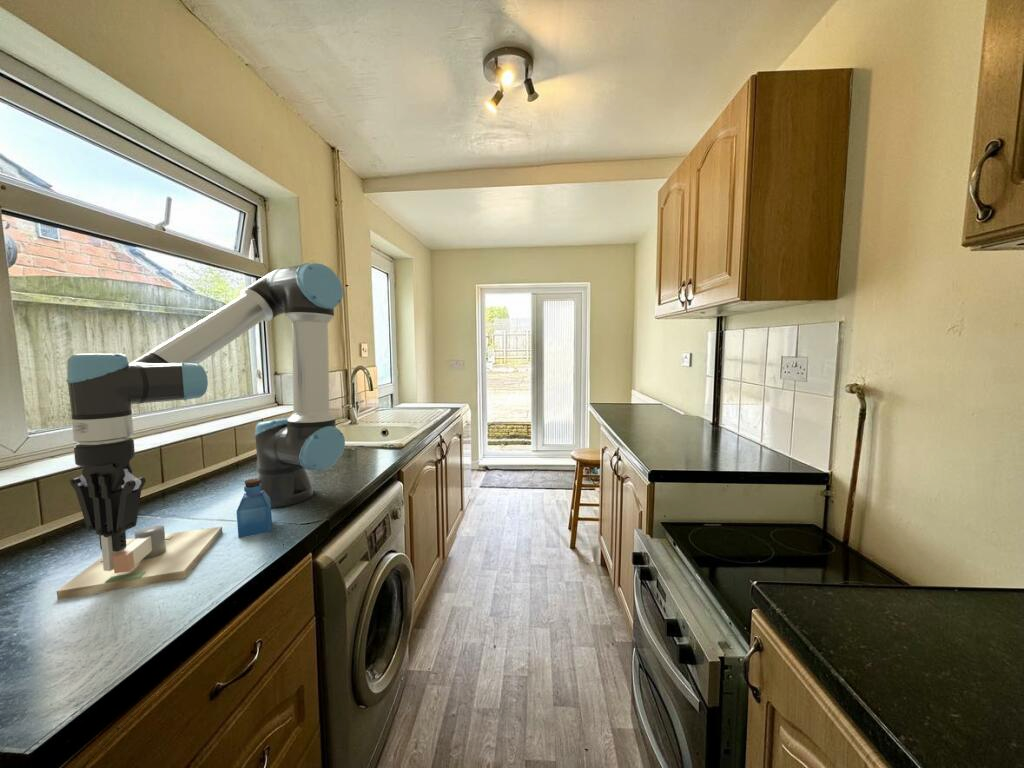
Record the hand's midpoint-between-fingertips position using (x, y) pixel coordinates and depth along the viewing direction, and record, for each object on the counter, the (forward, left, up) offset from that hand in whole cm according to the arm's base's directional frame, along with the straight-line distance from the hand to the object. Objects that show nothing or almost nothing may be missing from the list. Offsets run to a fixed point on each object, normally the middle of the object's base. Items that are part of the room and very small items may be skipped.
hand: (115, 566), depth 73 cm
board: (-2, -7, -3) cm, 8 cm away
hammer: (-2, -3, -2) cm, 4 cm away
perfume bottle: (-18, -16, -3) cm, 25 cm away
